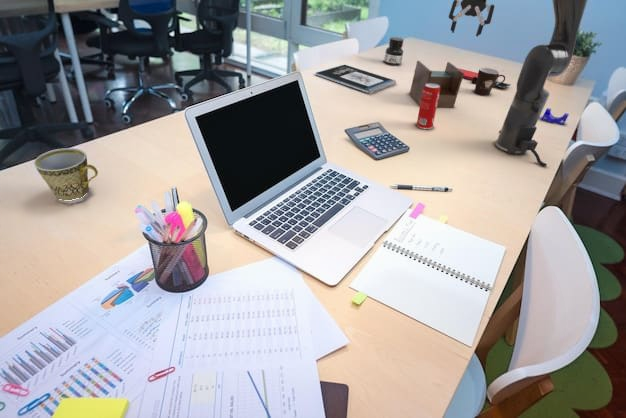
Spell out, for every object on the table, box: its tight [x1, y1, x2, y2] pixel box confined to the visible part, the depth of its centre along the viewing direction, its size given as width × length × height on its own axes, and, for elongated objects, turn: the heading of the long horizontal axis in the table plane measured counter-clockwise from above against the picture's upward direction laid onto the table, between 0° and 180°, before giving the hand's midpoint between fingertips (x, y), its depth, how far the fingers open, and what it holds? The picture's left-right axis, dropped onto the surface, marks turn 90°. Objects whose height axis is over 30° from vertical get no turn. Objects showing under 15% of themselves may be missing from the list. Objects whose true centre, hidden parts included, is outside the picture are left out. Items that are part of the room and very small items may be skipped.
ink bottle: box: [383, 36, 404, 66], centre depth 199 cm, size 10×9×12 cm
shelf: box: [409, 60, 464, 109], centre depth 159 cm, size 14×14×14 cm
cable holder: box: [541, 107, 570, 126], centre depth 154 cm, size 8×4×4 cm, turn 52°
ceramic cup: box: [33, 147, 99, 205], centre depth 89 cm, size 13×10×10 cm
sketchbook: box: [315, 64, 397, 95], centre depth 176 cm, size 22×30×2 cm
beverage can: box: [416, 83, 440, 130], centre depth 137 cm, size 6×6×15 cm
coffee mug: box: [473, 67, 506, 97], centre depth 172 cm, size 12×9×10 cm
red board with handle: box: [457, 67, 511, 89], centre depth 190 cm, size 30×3×15 cm
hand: (464, 34), depth 141 cm, fingers open, 8 cm apart
